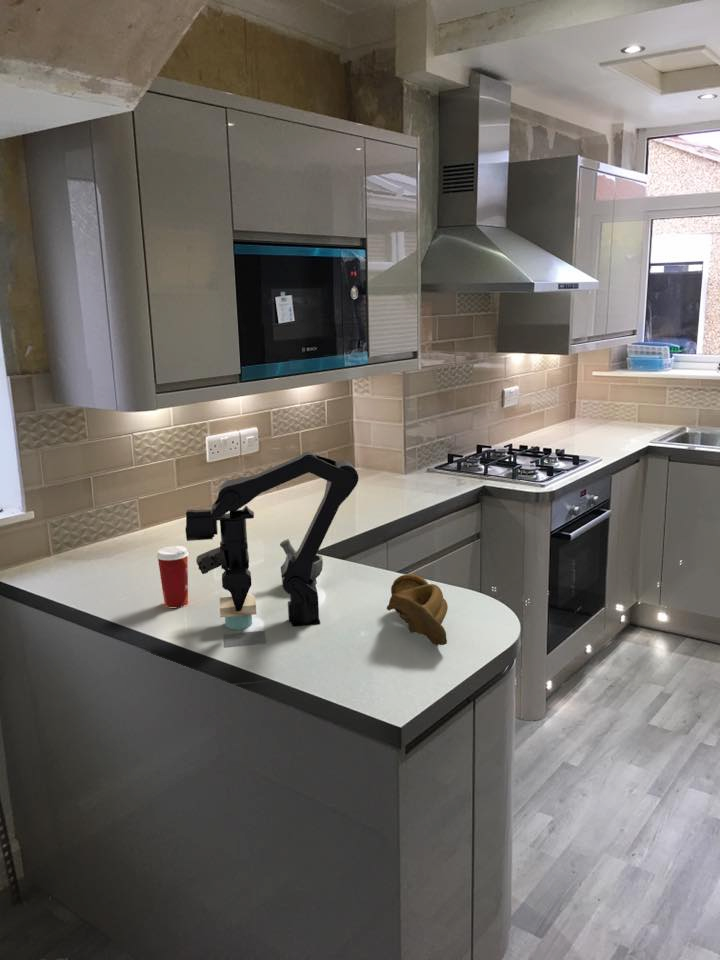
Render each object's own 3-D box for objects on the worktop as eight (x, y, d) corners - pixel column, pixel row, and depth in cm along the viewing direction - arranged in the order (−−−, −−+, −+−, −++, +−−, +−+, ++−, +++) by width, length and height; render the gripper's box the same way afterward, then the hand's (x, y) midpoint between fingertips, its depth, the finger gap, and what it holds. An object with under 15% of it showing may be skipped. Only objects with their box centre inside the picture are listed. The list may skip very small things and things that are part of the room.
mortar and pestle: (327, 578, 209) (325, 535, 206) (319, 591, 200) (317, 546, 197) (286, 576, 211) (284, 534, 208) (276, 589, 202) (274, 544, 199)
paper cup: (198, 603, 193) (194, 549, 190) (172, 612, 188) (168, 557, 185) (179, 595, 198) (175, 543, 195) (153, 604, 193) (149, 550, 190)
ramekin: (251, 619, 182) (250, 603, 182) (252, 630, 177) (251, 613, 176) (225, 622, 181) (224, 606, 181) (225, 632, 176) (224, 616, 175)
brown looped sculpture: (351, 613, 166) (382, 564, 185) (373, 664, 169) (401, 611, 188) (431, 598, 158) (454, 549, 177) (452, 652, 161) (473, 598, 180)
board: (255, 603, 182) (254, 594, 181) (256, 614, 175) (256, 605, 175) (220, 606, 180) (219, 597, 180) (220, 617, 174) (219, 608, 174)
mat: (264, 632, 175) (264, 630, 175) (266, 645, 169) (266, 643, 168) (224, 635, 174) (223, 634, 174) (224, 649, 167) (224, 647, 167)
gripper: (198, 528, 182) (202, 592, 185) (195, 553, 164) (201, 622, 167) (246, 525, 183) (250, 588, 187) (249, 549, 166) (253, 618, 169)
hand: (238, 603), depth 177 cm, fingers open, 9 cm apart
